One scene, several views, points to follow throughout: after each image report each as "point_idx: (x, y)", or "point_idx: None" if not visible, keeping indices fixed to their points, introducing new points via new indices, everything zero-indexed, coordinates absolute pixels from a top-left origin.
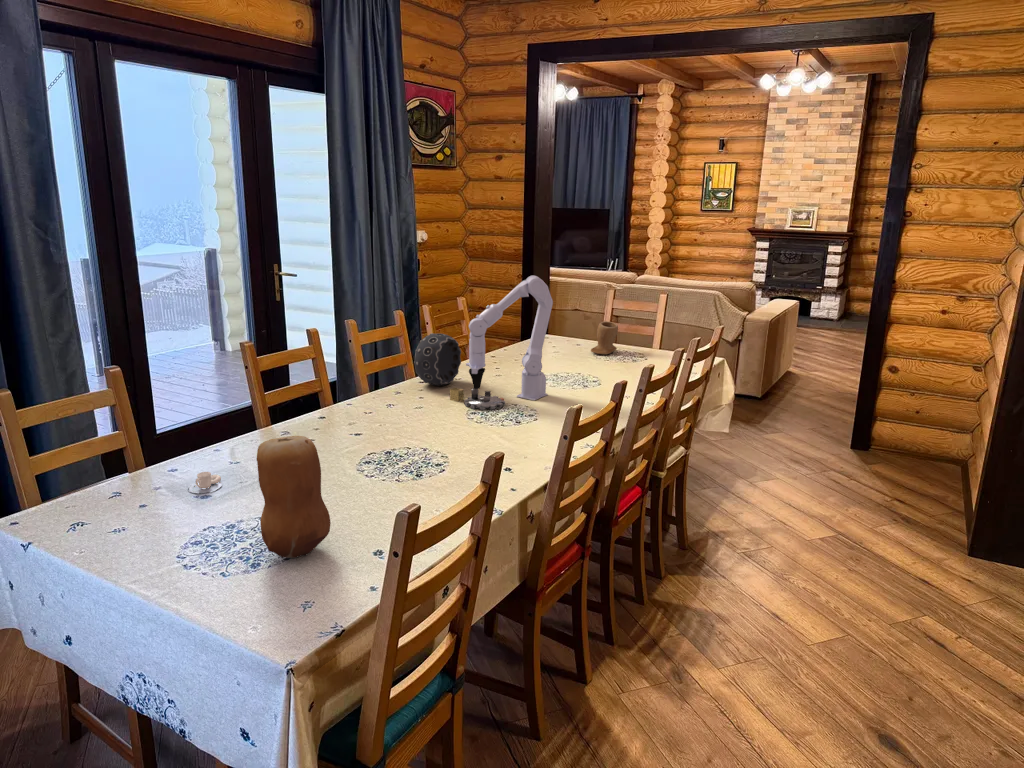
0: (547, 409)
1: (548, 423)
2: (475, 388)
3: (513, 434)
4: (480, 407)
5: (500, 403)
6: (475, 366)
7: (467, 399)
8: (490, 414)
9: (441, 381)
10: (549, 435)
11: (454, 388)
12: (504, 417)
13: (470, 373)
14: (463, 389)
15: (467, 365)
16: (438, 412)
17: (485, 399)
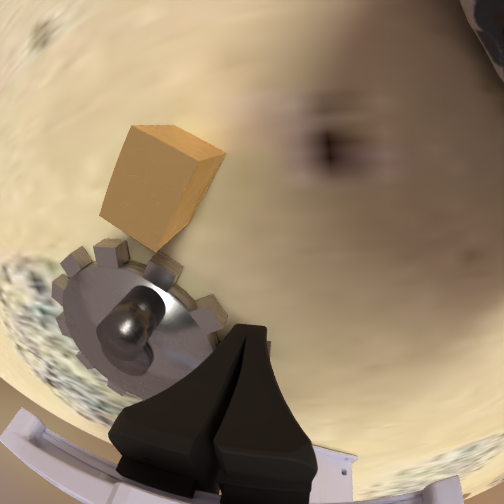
0: None
1: (79, 424)
2: (125, 347)
3: (3, 353)
4: (59, 317)
5: (120, 390)
6: (70, 494)
7: (111, 263)
8: (54, 336)
9: (473, 28)
10: (35, 401)
11: (167, 160)
12: (56, 365)
13: (131, 413)
14: (154, 249)
15: (116, 491)
16: (6, 144)
17: (104, 354)
